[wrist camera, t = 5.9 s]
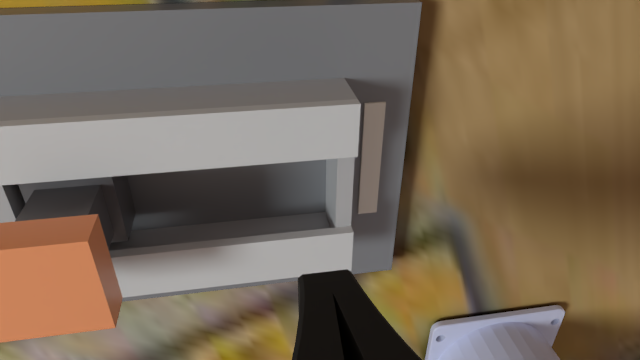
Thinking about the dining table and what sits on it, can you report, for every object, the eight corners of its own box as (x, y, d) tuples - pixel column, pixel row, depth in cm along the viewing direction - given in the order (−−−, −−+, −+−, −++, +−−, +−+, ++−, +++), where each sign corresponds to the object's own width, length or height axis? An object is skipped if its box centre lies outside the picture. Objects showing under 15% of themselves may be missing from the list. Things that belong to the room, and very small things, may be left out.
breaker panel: (385, 255, 23) (408, 307, 20) (32, 295, 21) (2, 361, 18) (412, -4, 17) (451, 19, 14) (-92, 10, 14) (-169, 41, 12)
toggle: (141, 216, 18) (115, 327, 14) (53, 224, 18) (-6, 343, 13) (124, 142, 17) (87, 241, 12) (26, 150, 16) (-52, 255, 12)
